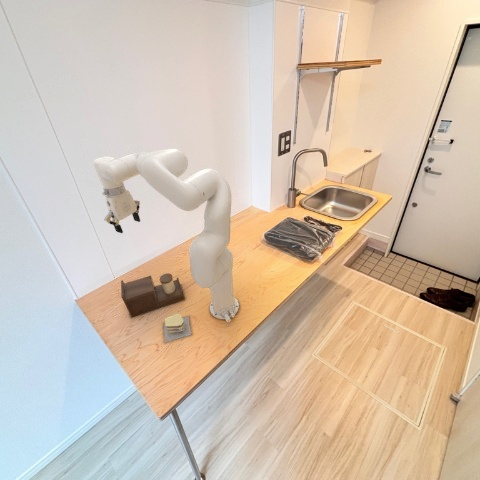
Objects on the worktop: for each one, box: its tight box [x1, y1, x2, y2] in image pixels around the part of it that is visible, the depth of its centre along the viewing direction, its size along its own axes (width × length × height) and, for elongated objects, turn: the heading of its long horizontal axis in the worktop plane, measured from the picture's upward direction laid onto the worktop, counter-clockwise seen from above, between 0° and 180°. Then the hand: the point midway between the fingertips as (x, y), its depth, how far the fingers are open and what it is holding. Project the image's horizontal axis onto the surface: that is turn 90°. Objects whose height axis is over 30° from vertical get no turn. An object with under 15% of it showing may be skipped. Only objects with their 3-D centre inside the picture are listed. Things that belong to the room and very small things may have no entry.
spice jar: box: [159, 272, 176, 294], centre depth 109 cm, size 6×6×8 cm
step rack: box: [120, 275, 185, 318], centre depth 108 cm, size 10×23×13 cm, turn 113°
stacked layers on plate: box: [163, 313, 192, 343], centre depth 97 cm, size 10×9×6 cm
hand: (129, 226), depth 106 cm, fingers open, 9 cm apart
